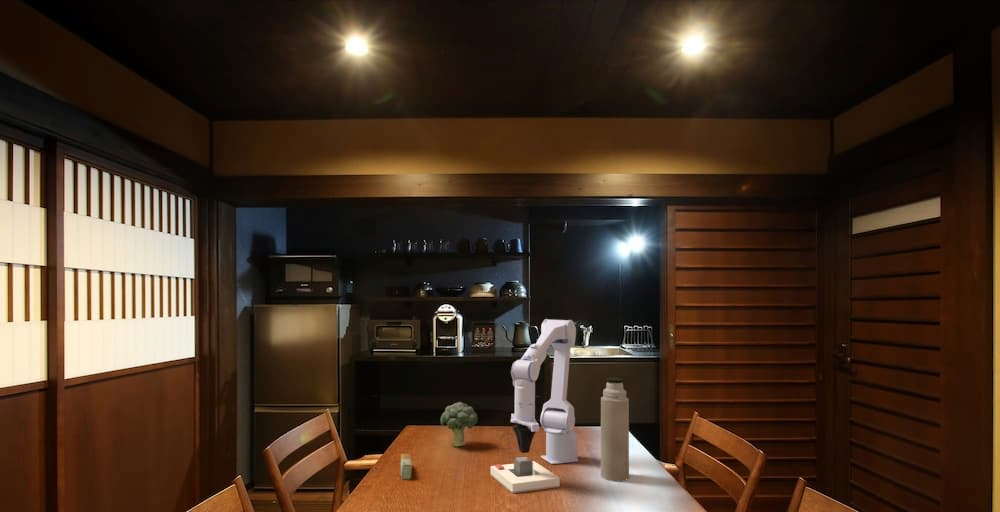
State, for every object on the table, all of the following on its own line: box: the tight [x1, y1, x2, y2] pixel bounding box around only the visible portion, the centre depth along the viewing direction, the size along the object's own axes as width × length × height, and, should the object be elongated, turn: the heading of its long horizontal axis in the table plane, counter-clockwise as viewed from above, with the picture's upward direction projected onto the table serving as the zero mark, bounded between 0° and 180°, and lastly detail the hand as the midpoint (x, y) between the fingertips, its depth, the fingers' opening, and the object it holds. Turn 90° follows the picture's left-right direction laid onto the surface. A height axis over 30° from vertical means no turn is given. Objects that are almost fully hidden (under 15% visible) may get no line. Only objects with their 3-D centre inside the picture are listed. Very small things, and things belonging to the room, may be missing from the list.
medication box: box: [399, 453, 413, 480], centre depth 165 cm, size 12×3×4 cm, turn 13°
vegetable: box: [439, 401, 479, 447], centre depth 194 cm, size 12×13×15 cm
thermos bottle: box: [600, 377, 630, 482], centre depth 164 cm, size 8×8×28 cm
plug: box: [513, 456, 533, 477], centre depth 159 cm, size 4×4×6 cm
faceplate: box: [489, 460, 561, 494], centre depth 159 cm, size 14×16×3 cm
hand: (524, 451), depth 159 cm, fingers closed
